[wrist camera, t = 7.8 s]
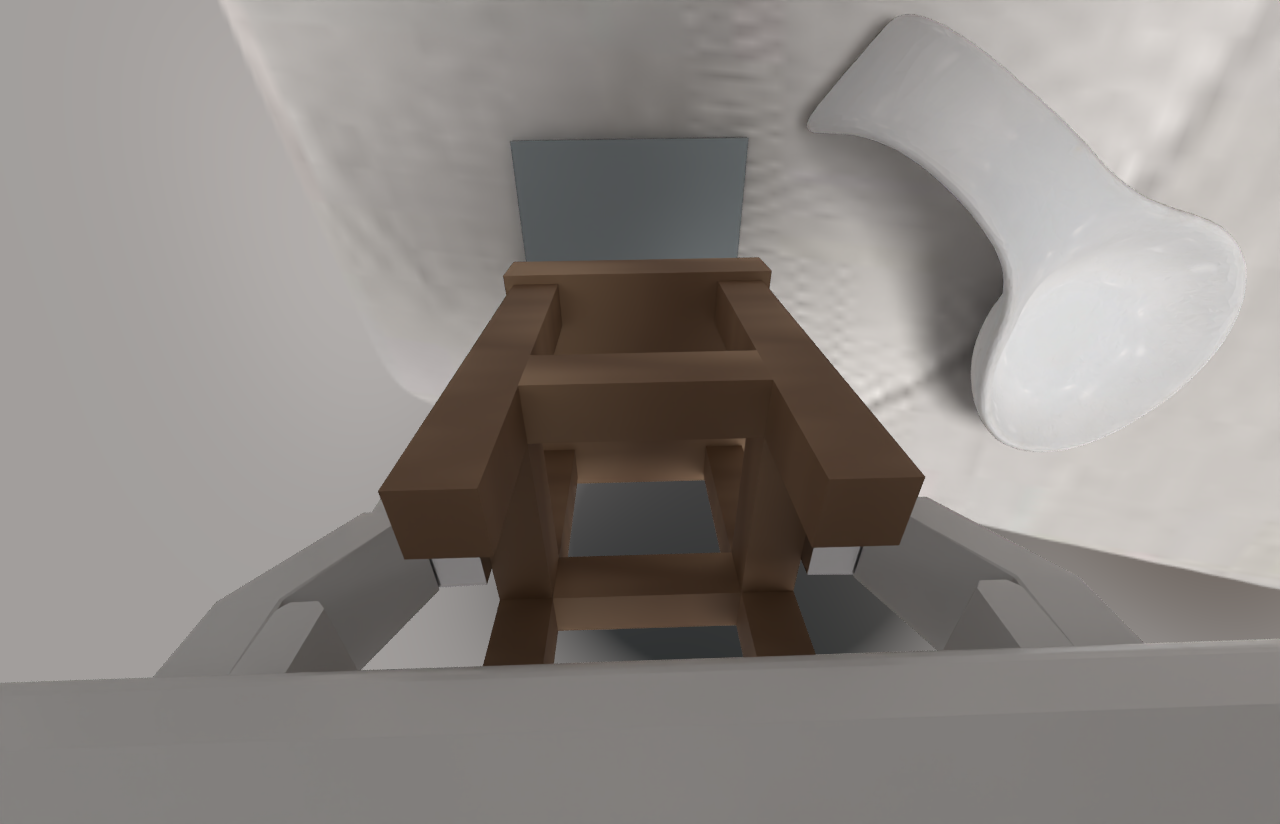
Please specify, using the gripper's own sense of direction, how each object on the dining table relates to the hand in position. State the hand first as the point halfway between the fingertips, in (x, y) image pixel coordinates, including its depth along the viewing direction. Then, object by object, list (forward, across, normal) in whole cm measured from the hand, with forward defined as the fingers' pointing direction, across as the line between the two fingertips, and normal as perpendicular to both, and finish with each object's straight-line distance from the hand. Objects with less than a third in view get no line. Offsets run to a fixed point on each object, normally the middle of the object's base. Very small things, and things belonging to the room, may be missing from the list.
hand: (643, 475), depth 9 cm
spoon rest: (+17, -18, 0) cm, 24 cm away
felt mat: (+16, 0, 0) cm, 16 cm away
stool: (+5, 0, 0) cm, 5 cm away
